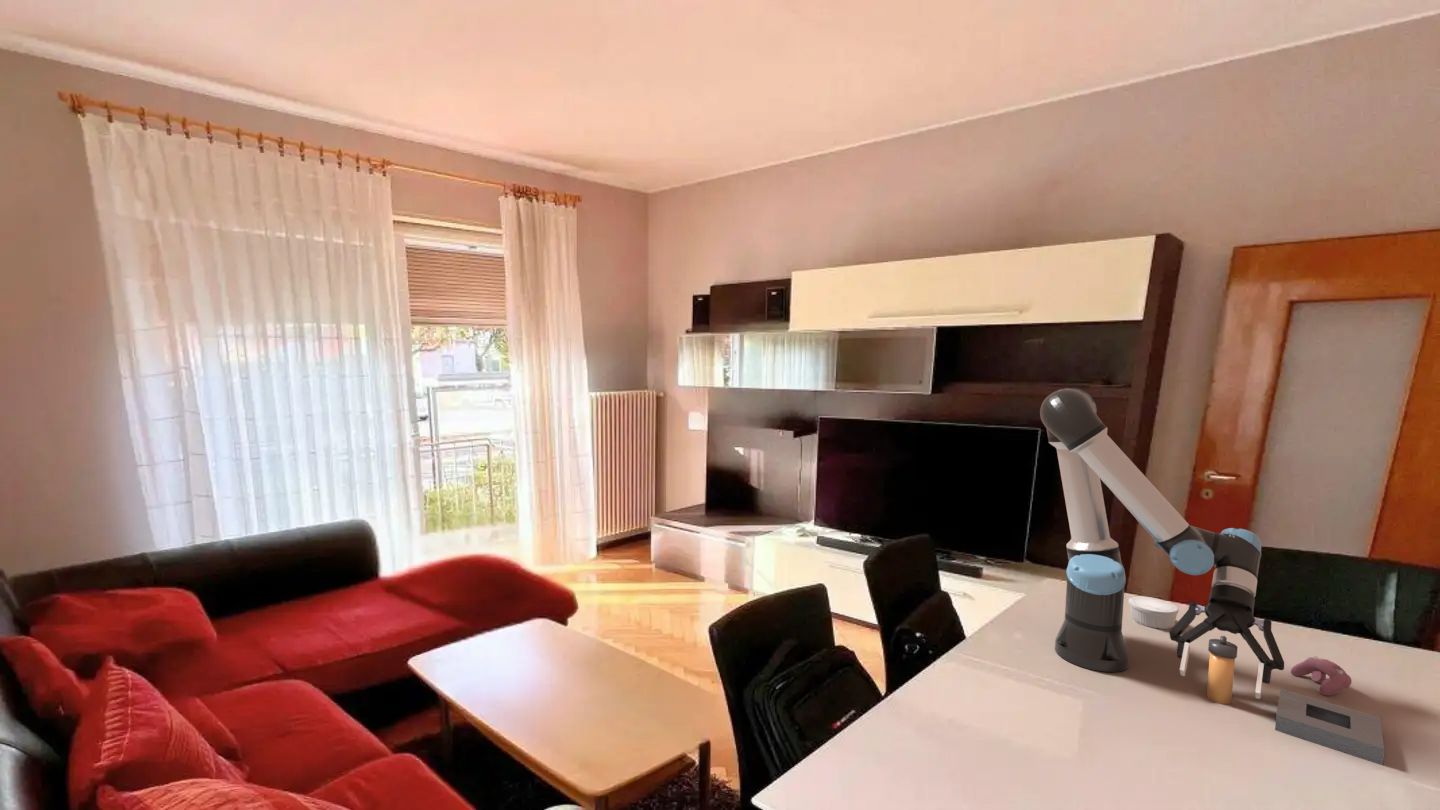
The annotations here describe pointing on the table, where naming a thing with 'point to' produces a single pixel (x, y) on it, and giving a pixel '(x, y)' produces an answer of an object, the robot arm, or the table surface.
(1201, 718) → the table surface
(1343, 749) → the grey square socket block
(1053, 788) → the table surface
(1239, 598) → the robot arm
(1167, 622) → the ramekin
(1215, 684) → the orange lidded canister
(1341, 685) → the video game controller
